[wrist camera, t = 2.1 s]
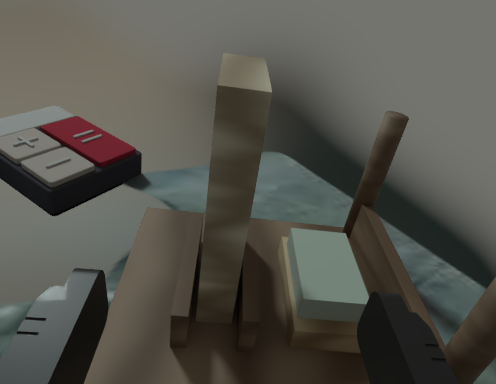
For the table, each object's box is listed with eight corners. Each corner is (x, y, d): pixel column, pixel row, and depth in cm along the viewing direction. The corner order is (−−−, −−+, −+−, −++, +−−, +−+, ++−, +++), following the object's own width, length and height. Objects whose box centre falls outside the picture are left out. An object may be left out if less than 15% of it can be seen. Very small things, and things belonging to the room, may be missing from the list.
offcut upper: (297, 317, 24) (303, 298, 23) (286, 245, 30) (290, 227, 29) (362, 322, 24) (371, 304, 23) (339, 250, 30) (345, 233, 29)
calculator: (48, 185, 32) (-44, 122, 37) (54, 223, 34) (-33, 158, 40) (143, 147, 40) (56, 99, 45) (143, 179, 42) (60, 130, 48)
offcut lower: (288, 347, 24) (294, 330, 23) (277, 252, 31) (281, 236, 30) (363, 353, 24) (371, 336, 23) (334, 258, 32) (340, 242, 31)
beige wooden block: (195, 321, 24) (217, 84, 16) (203, 258, 30) (223, 52, 21) (231, 324, 25) (272, 92, 16) (233, 261, 30) (265, 58, 21)
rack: (74, 424, 20) (26, 231, 12) (147, 220, 35) (144, 78, 28) (432, 442, 22) (574, 283, 14) (354, 240, 37) (403, 112, 29)
